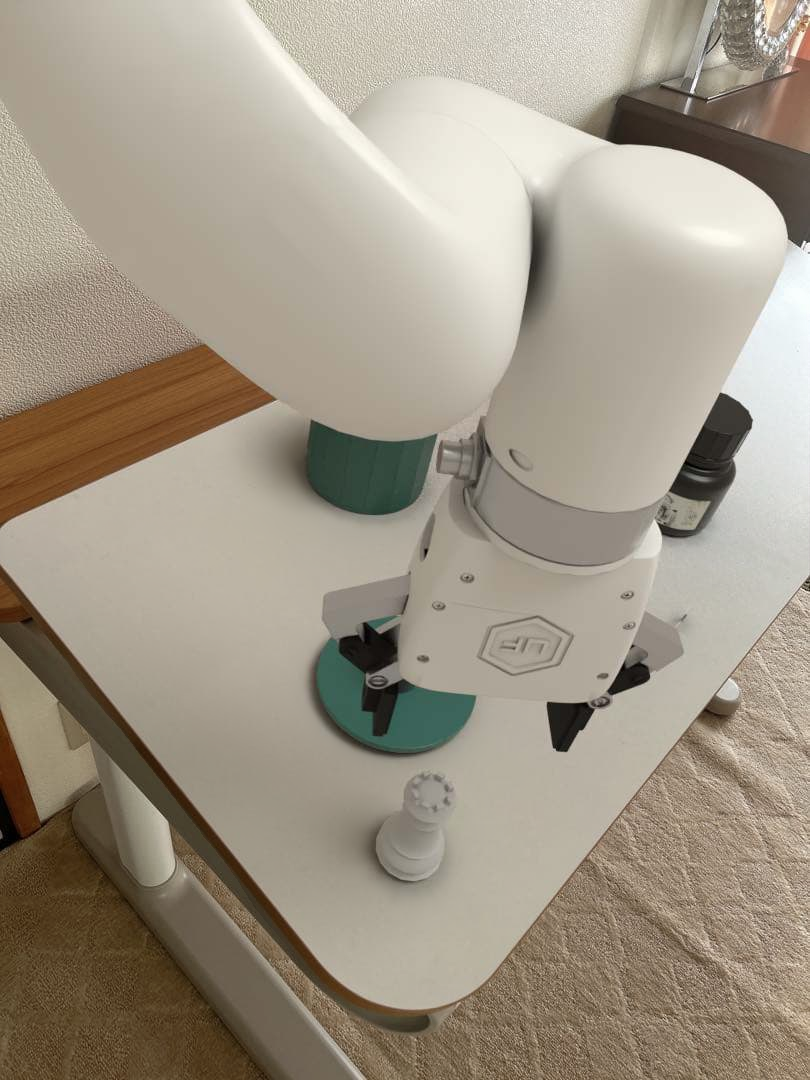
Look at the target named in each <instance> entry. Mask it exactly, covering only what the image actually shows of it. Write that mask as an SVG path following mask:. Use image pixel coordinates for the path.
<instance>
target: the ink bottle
mask: <svg viewBox="0 0 810 1080" xmlns="http://www.w3.org/2000/svg"><path fill="white" fill-rule="evenodd" d="M753 423H754V419H753V417H752V415H751V413H750V411H749V409H747V408H746V407H745V406H744V405H743V404H742V403H741V402H740V401H739V400H737V399H735V398H734V397H732V396H731V395H729V394H727V393H724V392H722V391H721V392H720V393H719V395H718V397H717V399H716V401H715V403H714V405H713V407H712V409H711V411H710V413H709V415H708V417H707V419H706V421H705V422H704V424H703V426H702V428H701V430H700V432H699V434H698V436H697V438H696V440H695V442H694V444H693V446H692V447H691V449H690V451H689V453H688V455H687V457H686V459H685V461H684V463H683V465H682V467H681V469H680V471H679V473H678V474H677V476H676V478H675V480H674V482H673V484H672V486H671V487H670V489H669V491H668V493H667V495H666V497H665V499H664V501H663V503H662V505H661V507H660V509H659V511H658V513H657V514H656V516H655V521H656V523H657V524H658V527H659V529H660V532H661V533H663V534H666V535H669V536H677V537H685V536H686V537H687V536H691V535H695V534H697V533H700V532H701V531H703V530H705V528H706V527H707V526H708V525H709V523H710V522H711V520H712V519H713V518H714V515H715V513H716V512H717V510H718V509H719V507H720V505H721V503H722V502H723V500H725V499H724V498H725V497H726V495H727V493H728V492H729V490H730V489H731V487H732V485H733V483H734V481H735V479H736V476H737V466H736V462H735V460H734V458H735V457H736V455H737V454H738V453H739V451H740V449H741V448H742V446H743V445H744V442H745V440H747V437H748V435H750V433H751V430H752V428H753Z"/></svg>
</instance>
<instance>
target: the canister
mask: <svg viewBox="0 0 810 1080" xmlns="http://www.w3.org/2000/svg"><path fill="white" fill-rule="evenodd" d="M309 422H310V423H309V428H308V435H307V436H308V437H307V443H306V450H305V456H304V457H305V458H304V460H305V473H306V474H305V475H306V477H307V480H308V482H309V483H310V485H311V487H312V489H314V491H315V492H316V493H317V494H318V495H319V496H321V497H322V499H324V500H326V501H327V502H329V503H331V504H332V505H334V506H336V507H338V508H341V509H342V510H346V511H349V512H352V513H356V514H363V515H372V516H373V515H374V516H376V515H386V514H393V513H396V512H399V511H402V510H404V509H406V508H408V507H410V506H411V505H412V504H414V503H415V502H416V501H417V500H418V498H419V497H420V496H421V494H422V493H423V489H424V486H425V483H426V480H427V477H428V476H427V475H428V472H429V469H430V465H431V461H432V457H433V454H434V450H435V446H436V443H437V439H438V435H439V433H437V434H434V435H431V436H428V437H425V438H422V439H414V440H405V441H381V440H369V439H366V438H362V437H358V436H354V435H350V434H346V433H343V432H339V431H337V430H335V429H333V428H330V427H328V426H326V425H323V424H321V423H319V422H316V421H314V420H312V419H310V421H309Z"/></svg>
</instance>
